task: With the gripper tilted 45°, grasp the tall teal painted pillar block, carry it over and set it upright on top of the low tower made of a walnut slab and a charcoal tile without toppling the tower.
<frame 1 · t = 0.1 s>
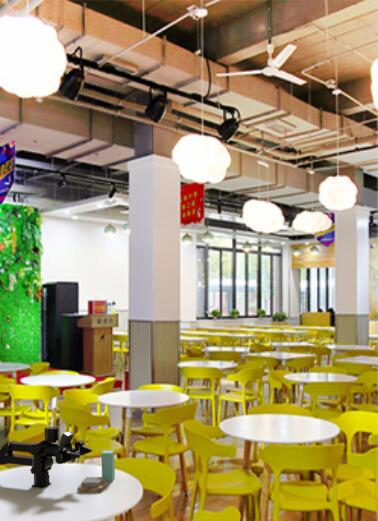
hand: (85, 453, 261), 16 cm above the table, tool horizontal, fingers open, 9 cm apart
charcoal tile: (92, 484, 263), point 2 cm above the table, touching walnut slab
teal pillar: (108, 479, 275), on the table
walnut slab: (92, 489, 263), on the table, touching charcoal tile
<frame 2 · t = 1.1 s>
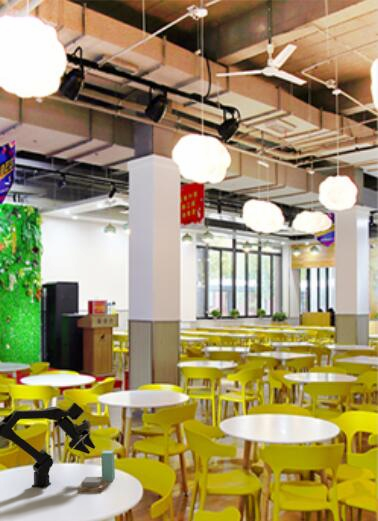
hand: (92, 450, 276), 14 cm above the table, tool tilted 45°, fingers open, 9 cm apart
nothing on the table moved.
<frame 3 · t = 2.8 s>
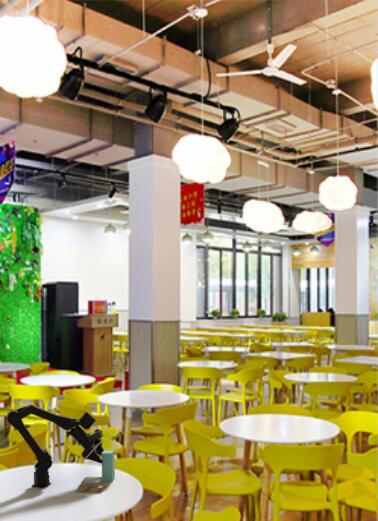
hand: (104, 460, 276), 9 cm above the table, tool tilted 45°, fingers open, 9 cm apart
nothing on the table moved.
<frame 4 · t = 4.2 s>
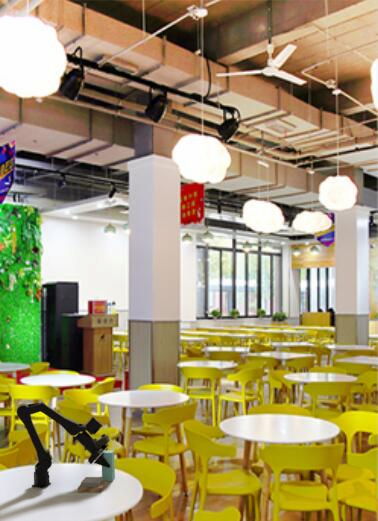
hand: (111, 465, 275), 7 cm above the table, tool tilted 45°, fingers closed on teal pillar, 5 cm apart
teal pillar: (108, 479, 275), on the table, touching gripper
everything else where it was.
when the fingers open (12 cm above the table, at t = 8.2 s): teal pillar drops 1 cm, resting on charcoal tile.
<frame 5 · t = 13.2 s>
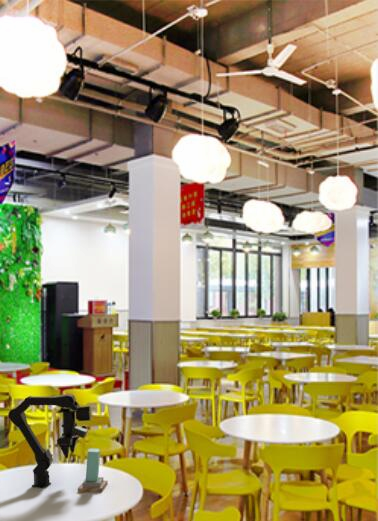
hand: (69, 455, 272), 13 cm above the table, tool pointing down, fingers open, 9 cm apart
charcoal tile: (93, 484, 263), point 2 cm above the table, touching teal pillar, walnut slab
teal pillar: (92, 479, 264), point 4 cm above the table, tilted 5°, touching charcoal tile
everything else where it was.
at the end: teal pillar 0.5 cm off-centre on the walnut slab, point 4.8 cm above the walnut slab's base; teal pillar tilted 5°; charcoal tile 0.4 cm off-centre on the walnut slab, point 2.5 cm above the walnut slab's base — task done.
